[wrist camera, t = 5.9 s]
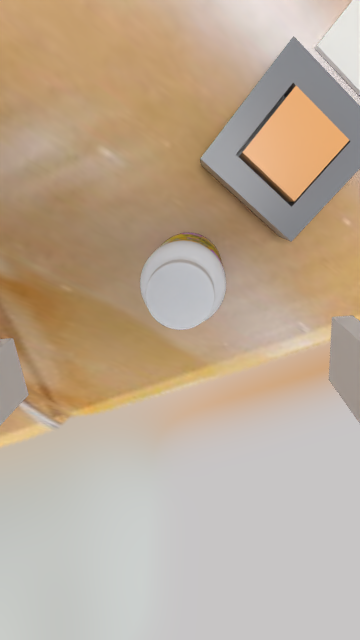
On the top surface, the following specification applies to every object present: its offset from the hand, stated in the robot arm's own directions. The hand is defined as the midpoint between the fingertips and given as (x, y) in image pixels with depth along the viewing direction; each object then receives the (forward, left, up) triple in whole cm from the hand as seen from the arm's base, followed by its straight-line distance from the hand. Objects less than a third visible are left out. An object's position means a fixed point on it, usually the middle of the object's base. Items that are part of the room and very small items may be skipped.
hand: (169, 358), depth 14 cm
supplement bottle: (0, 0, -22) cm, 22 cm away
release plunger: (0, +13, -20) cm, 24 cm away
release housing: (0, +13, -22) cm, 25 cm away
